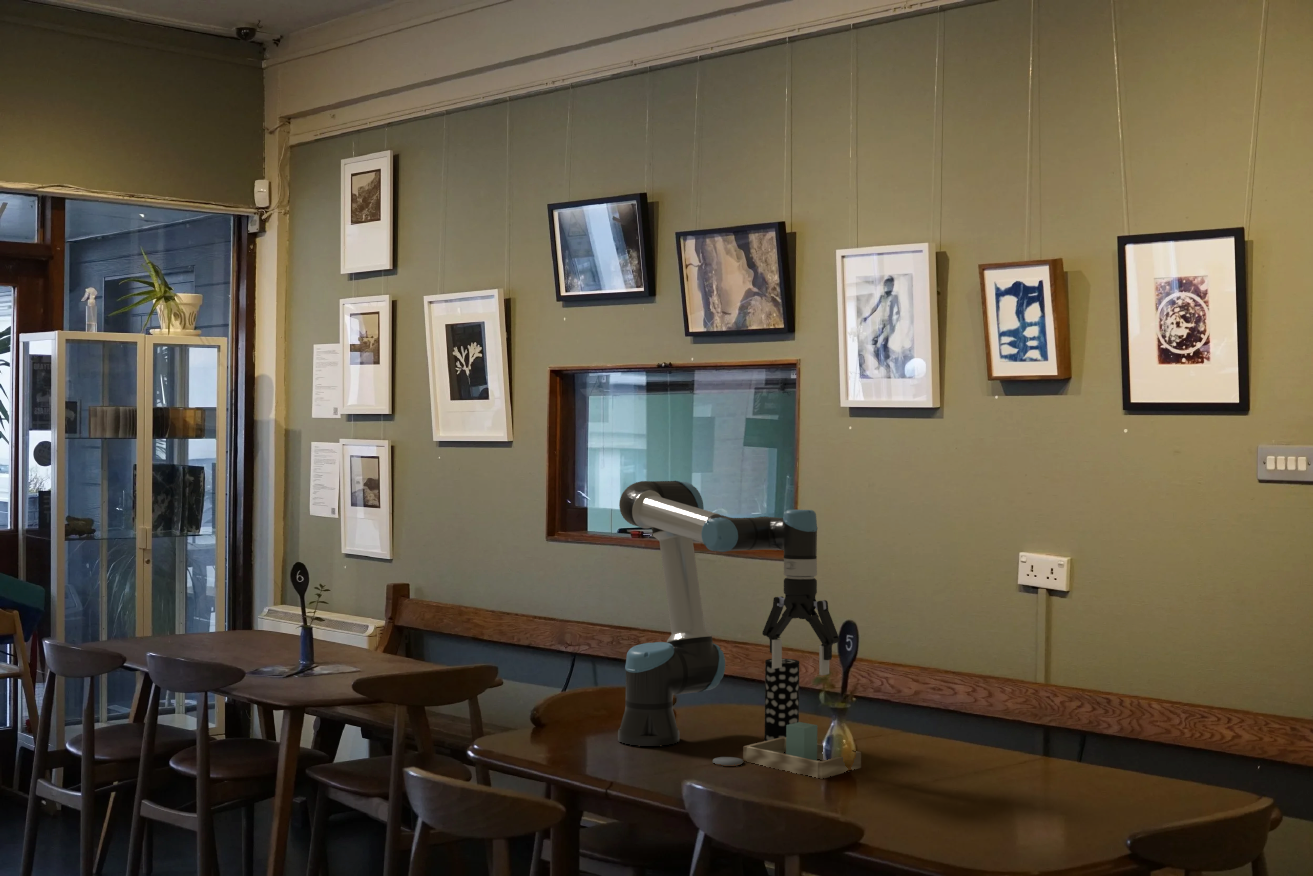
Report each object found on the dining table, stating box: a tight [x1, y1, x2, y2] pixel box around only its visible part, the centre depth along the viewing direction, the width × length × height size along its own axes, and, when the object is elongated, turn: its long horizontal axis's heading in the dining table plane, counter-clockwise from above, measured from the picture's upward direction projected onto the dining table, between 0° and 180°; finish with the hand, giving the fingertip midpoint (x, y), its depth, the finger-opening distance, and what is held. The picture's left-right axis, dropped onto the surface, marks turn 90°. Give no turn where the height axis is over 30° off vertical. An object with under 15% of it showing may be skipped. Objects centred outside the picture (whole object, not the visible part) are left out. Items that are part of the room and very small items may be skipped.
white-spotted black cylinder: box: [764, 658, 800, 741], centre depth 306 cm, size 8×8×20 cm
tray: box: [742, 737, 862, 780], centre depth 283 cm, size 22×15×4 cm
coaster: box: [712, 756, 745, 765], centre depth 284 cm, size 7×7×1 cm
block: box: [785, 721, 818, 761], centre depth 283 cm, size 5×5×9 cm
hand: (800, 671), depth 283 cm, fingers open, 13 cm apart
